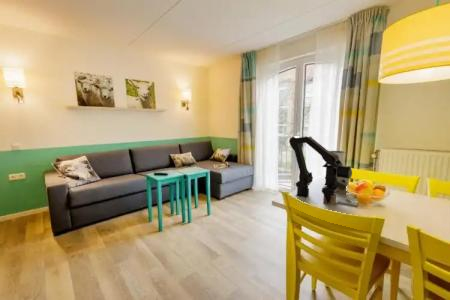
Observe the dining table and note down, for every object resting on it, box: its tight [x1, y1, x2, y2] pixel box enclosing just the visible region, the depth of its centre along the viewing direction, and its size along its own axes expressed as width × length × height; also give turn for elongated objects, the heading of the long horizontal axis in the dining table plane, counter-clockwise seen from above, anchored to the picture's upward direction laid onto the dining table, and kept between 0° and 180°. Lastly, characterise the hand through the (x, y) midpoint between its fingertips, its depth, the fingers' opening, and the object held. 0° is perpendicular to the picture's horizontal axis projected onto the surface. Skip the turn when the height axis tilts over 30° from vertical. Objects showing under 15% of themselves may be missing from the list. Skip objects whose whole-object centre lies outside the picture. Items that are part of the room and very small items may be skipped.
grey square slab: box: [336, 192, 359, 208], centre depth 128 cm, size 10×10×5 cm
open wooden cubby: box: [322, 193, 337, 206], centre depth 128 cm, size 6×6×6 cm
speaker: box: [330, 150, 346, 166], centre depth 158 cm, size 11×10×26 cm
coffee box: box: [335, 176, 350, 195], centre depth 145 cm, size 9×6×16 cm
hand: (329, 200), depth 128 cm, fingers open, 9 cm apart
